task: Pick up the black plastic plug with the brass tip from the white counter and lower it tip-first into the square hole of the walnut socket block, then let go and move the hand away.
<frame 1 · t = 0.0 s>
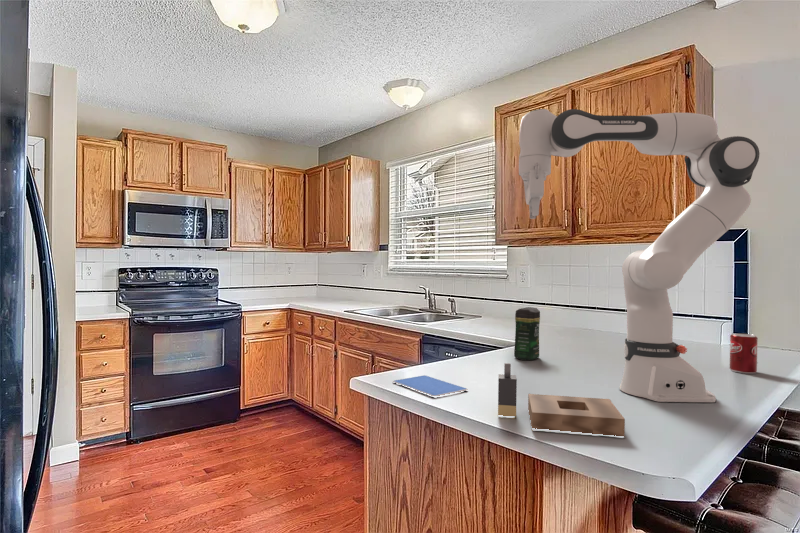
hand: (534, 217, 135), 48 cm above the counter, tool pointing down, fingers open, 8 cm apart
soda can: (742, 372, 155), on the counter
coffee jar: (527, 358, 173), on the counter
socket: (572, 423, 104), on the counter
plug: (506, 415, 109), on the counter
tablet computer: (429, 389, 133), on the counter
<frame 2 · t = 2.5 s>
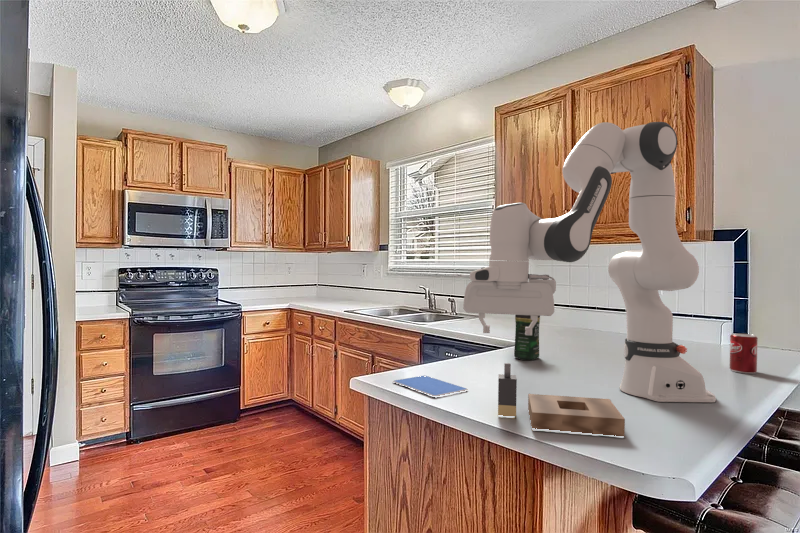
hand: (507, 334, 109), 19 cm above the counter, tool pointing down, fingers open, 8 cm apart
nothing on the counter moved.
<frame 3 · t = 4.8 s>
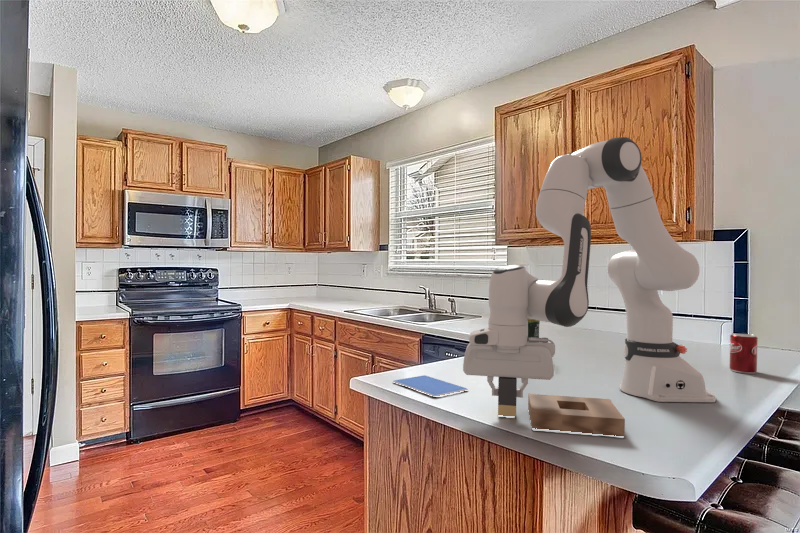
hand: (507, 396, 109), 5 cm above the counter, tool pointing down, fingers closed on plug, 4 cm apart
plug: (506, 415, 109), on the counter, touching gripper
everything else where it was.
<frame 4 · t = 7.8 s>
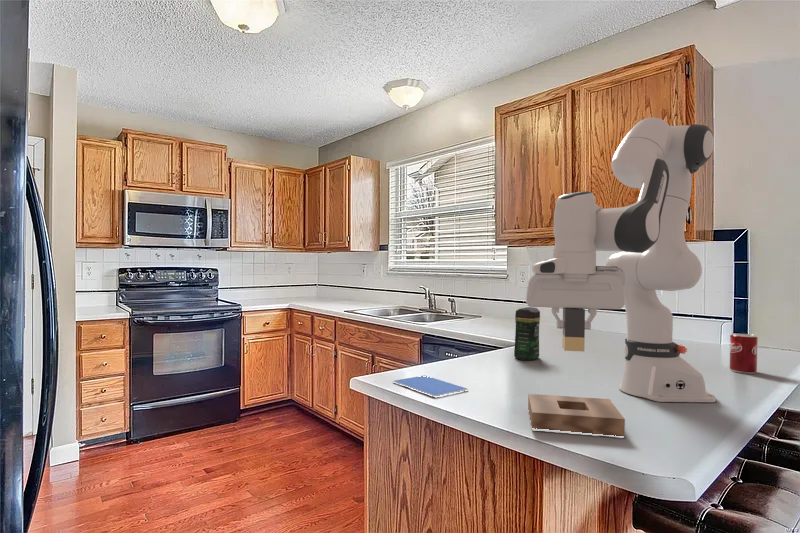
hand: (573, 328, 104), 21 cm above the counter, tool pointing down, fingers closed on plug, 4 cm apart
plug: (573, 349, 104), point 16 cm above the counter, touching gripper
everything else where it was.
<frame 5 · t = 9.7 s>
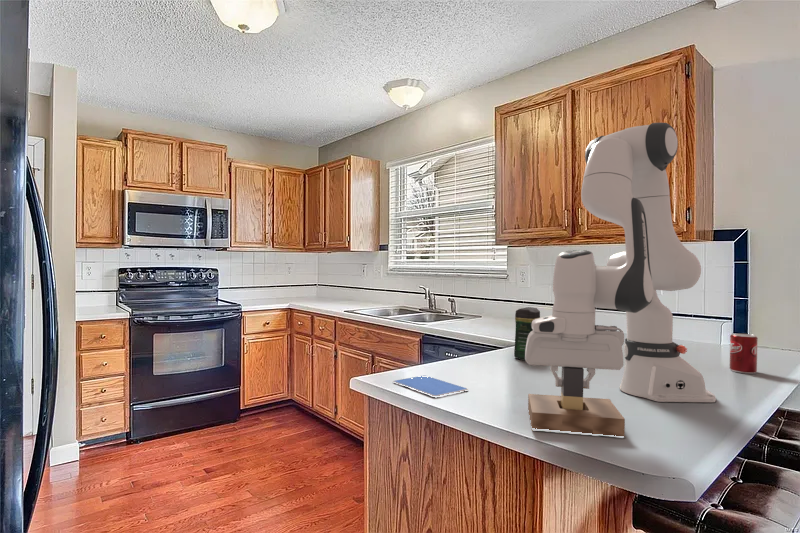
hand: (571, 387, 104), 8 cm above the counter, tool pointing down, fingers closed on plug, 4 cm apart
plug: (571, 407, 104), point 4 cm above the counter, touching gripper
everything else where it was.
when the fingers open (6 cm above the counter, at t = 11.2 s): plug drops 1 cm, resting in socket.
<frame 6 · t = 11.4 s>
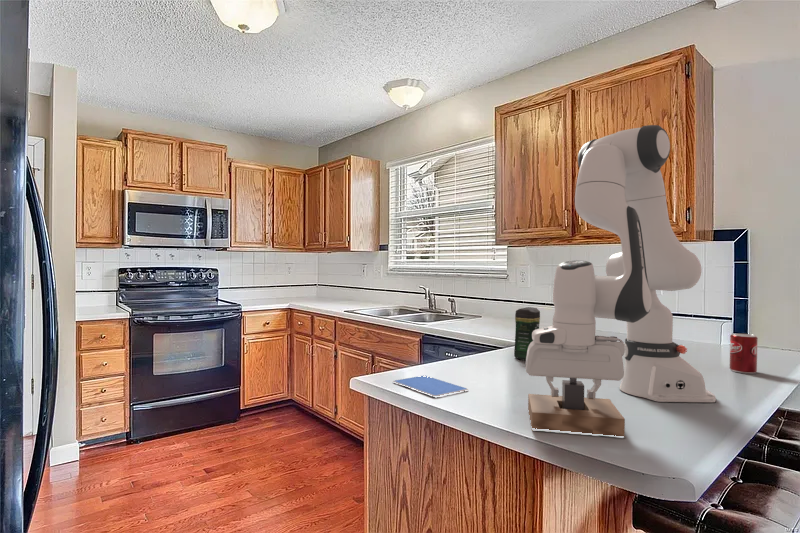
hand: (572, 397, 104), 6 cm above the counter, tool pointing down, fingers open, 6 cm apart
plug: (572, 423, 104), resting in socket
everything else where it was.
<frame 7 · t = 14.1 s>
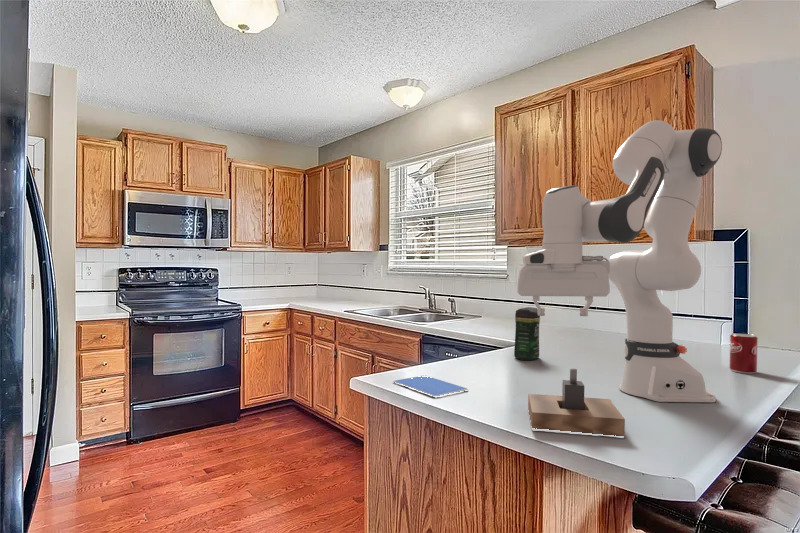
hand: (562, 315, 110), 23 cm above the counter, tool pointing down, fingers open, 8 cm apart
nothing on the counter moved.
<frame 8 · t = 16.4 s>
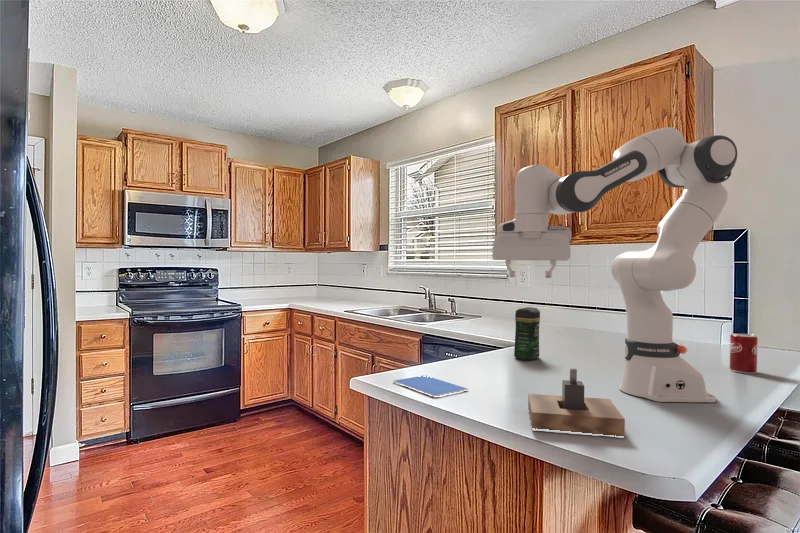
hand: (530, 277, 128), 31 cm above the counter, tool pointing down, fingers open, 8 cm apart
nothing on the counter moved.
at the end: plug 0.1 cm off-centre on the socket, point 0.0 cm above the socket's base; plug tilted 0°; the gripper is holding nothing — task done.
